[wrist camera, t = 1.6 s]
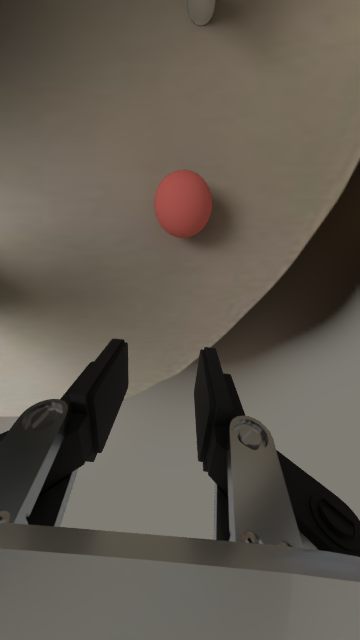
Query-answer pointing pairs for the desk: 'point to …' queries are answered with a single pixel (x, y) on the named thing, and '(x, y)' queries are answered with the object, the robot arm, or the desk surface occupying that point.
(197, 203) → the ball
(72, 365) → the desk surface
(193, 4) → the pin
